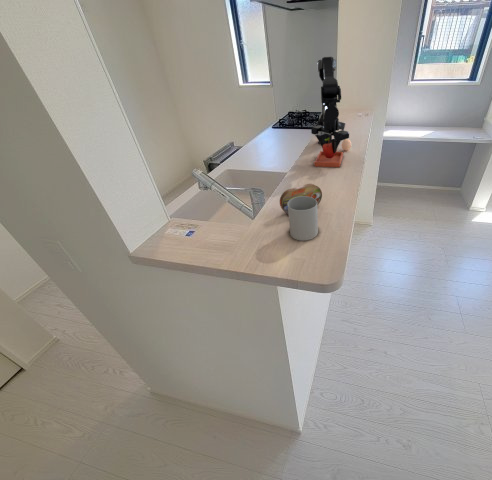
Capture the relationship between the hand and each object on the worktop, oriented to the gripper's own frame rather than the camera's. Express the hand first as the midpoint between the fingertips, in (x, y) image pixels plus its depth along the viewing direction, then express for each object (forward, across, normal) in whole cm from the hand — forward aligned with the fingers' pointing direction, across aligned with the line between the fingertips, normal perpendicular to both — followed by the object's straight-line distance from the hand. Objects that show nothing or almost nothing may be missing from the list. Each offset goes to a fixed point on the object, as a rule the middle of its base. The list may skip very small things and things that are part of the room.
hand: (329, 151), depth 126 cm
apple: (+3, 0, 0) cm, 3 cm away
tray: (+4, 0, 0) cm, 5 cm away
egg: (+5, +4, -17) cm, 18 cm away
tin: (+4, -25, +40) cm, 48 cm away
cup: (+4, -36, +49) cm, 61 cm away
